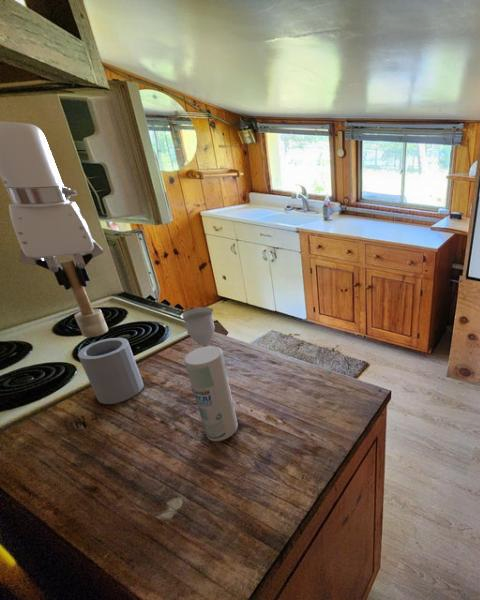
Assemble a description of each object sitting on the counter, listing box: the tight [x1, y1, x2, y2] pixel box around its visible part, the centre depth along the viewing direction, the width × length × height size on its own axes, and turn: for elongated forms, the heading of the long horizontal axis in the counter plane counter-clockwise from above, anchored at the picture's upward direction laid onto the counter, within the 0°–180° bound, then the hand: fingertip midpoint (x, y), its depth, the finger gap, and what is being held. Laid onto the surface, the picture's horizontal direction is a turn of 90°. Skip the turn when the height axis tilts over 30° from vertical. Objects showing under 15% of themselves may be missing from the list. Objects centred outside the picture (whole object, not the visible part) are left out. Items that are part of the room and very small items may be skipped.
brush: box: [59, 259, 109, 338], centre depth 70 cm, size 4×4×17 cm
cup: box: [77, 337, 144, 405], centre depth 79 cm, size 9×9×13 cm
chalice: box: [180, 306, 216, 347], centre depth 87 cm, size 7×7×18 cm
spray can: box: [183, 345, 239, 442], centre depth 68 cm, size 6×6×20 cm
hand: (76, 285), depth 69 cm, fingers closed on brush, 2 cm apart
